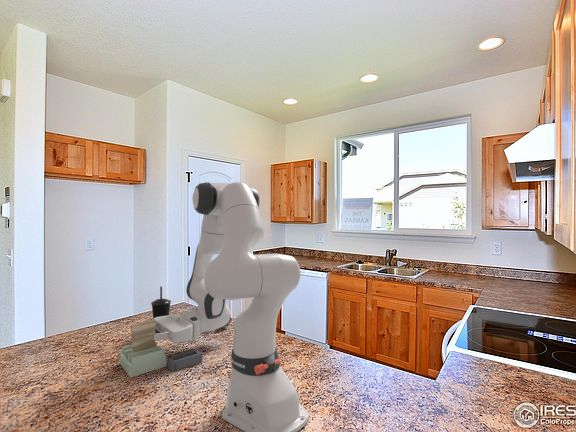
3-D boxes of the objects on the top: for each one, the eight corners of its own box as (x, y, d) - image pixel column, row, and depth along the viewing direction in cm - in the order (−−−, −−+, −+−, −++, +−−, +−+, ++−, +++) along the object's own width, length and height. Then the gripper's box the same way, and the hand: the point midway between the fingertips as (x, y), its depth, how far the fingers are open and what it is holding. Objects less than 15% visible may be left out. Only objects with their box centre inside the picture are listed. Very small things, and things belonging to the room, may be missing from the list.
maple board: (155, 359, 105) (155, 320, 105) (132, 366, 101) (132, 325, 101) (153, 357, 107) (153, 319, 107) (131, 364, 102) (131, 324, 102)
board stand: (202, 362, 105) (202, 353, 105) (172, 372, 99) (172, 362, 99) (196, 357, 109) (196, 349, 109) (167, 367, 102) (167, 357, 102)
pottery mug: (231, 323, 146) (234, 310, 142) (226, 339, 137) (230, 326, 133) (205, 317, 145) (208, 304, 141) (199, 333, 136) (202, 319, 132)
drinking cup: (146, 337, 127) (146, 287, 127) (159, 330, 135) (159, 284, 135) (162, 339, 125) (162, 289, 125) (174, 332, 132) (174, 285, 133)
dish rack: (166, 366, 103) (166, 349, 103) (130, 377, 95) (130, 359, 95) (154, 354, 112) (154, 338, 112) (120, 363, 104) (120, 347, 104)
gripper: (176, 308, 122) (138, 316, 112) (200, 322, 106) (159, 332, 97) (176, 325, 121) (138, 334, 112) (200, 340, 106) (159, 352, 97)
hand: (148, 333), depth 105 cm, fingers open, 8 cm apart
